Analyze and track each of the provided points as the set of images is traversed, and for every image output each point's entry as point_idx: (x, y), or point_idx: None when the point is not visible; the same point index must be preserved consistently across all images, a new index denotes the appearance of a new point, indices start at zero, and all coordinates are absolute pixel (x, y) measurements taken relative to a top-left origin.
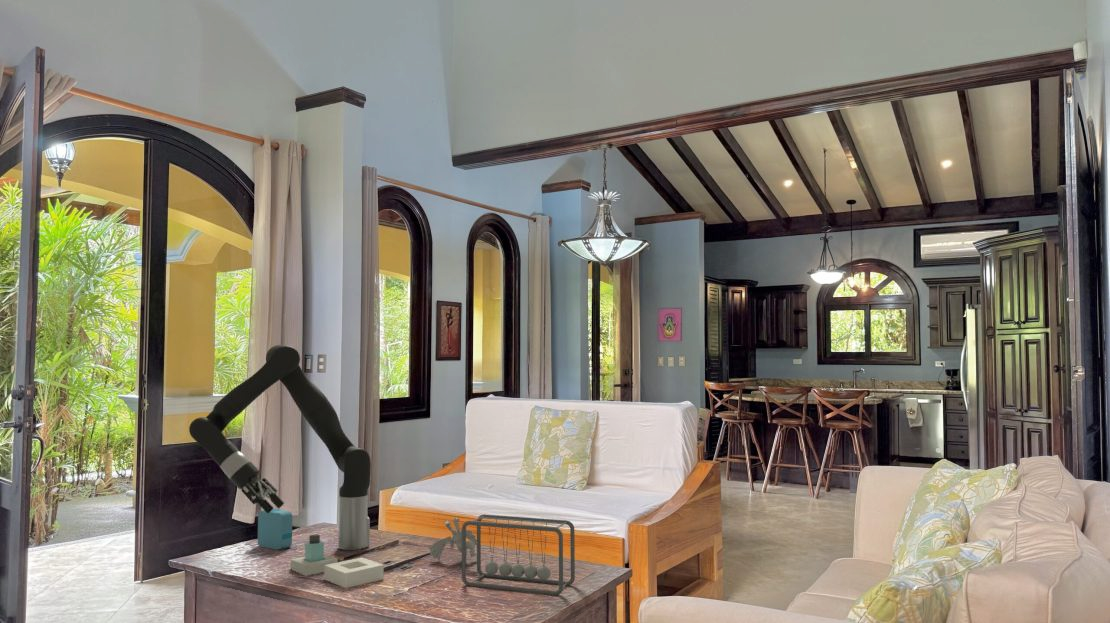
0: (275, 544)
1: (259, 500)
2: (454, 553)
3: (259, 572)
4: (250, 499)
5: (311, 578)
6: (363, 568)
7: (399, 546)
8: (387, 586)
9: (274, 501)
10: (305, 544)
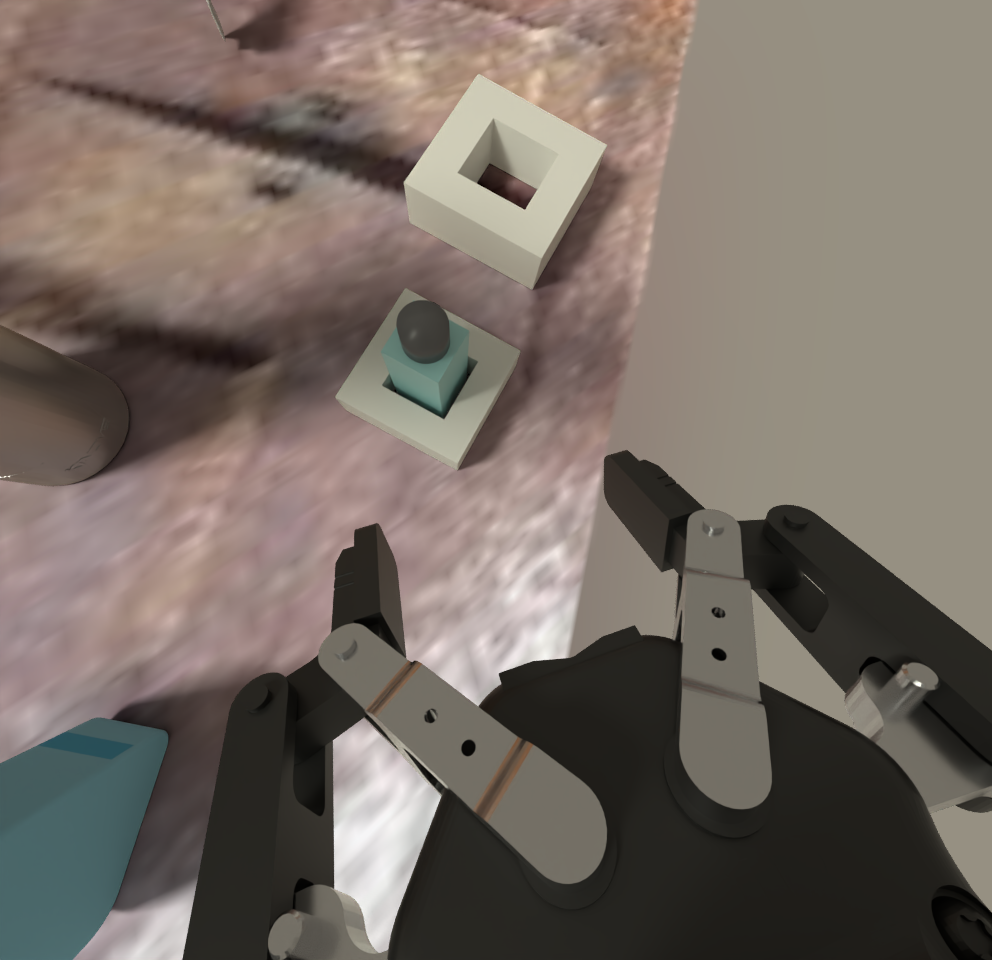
0: (143, 780)
1: (755, 527)
2: (100, 18)
3: (523, 559)
4: (828, 603)
5: (533, 336)
6: (538, 116)
7: (13, 244)
8: (537, 87)
9: (396, 608)
10: (439, 383)
